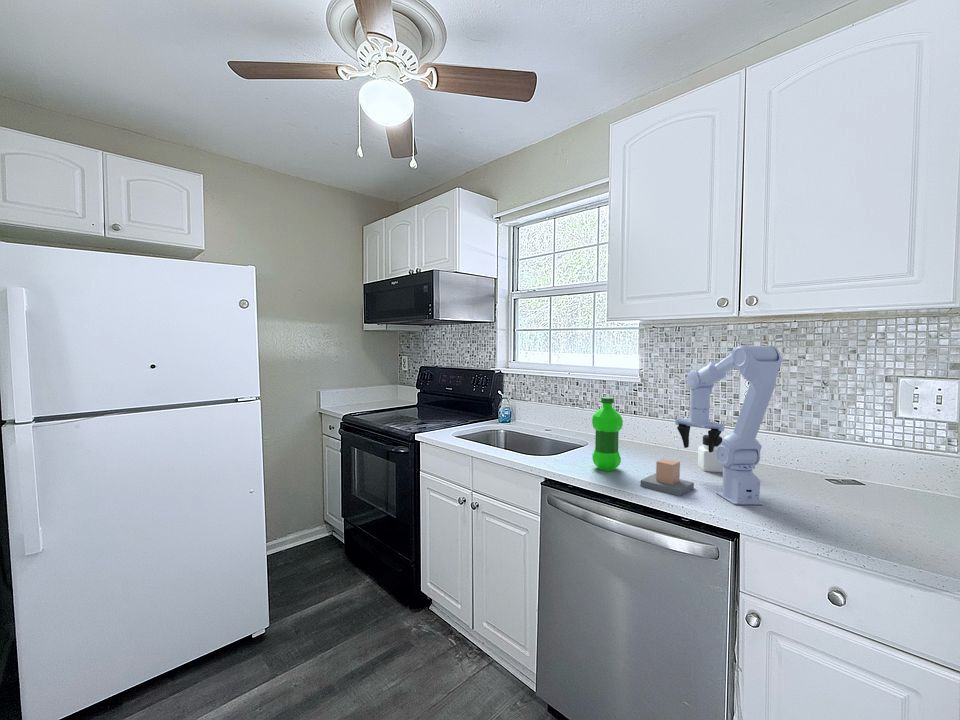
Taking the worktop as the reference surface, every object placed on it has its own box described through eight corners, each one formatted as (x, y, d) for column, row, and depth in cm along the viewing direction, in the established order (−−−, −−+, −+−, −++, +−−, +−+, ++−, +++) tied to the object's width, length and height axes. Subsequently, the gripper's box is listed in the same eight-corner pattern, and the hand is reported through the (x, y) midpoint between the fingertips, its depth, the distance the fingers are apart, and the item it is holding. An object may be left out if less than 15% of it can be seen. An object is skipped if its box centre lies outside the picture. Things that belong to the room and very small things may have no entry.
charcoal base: (693, 488, 132) (693, 482, 131) (680, 496, 125) (680, 490, 125) (655, 478, 140) (655, 473, 140) (640, 485, 133) (640, 480, 133)
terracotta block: (679, 481, 133) (679, 461, 132) (672, 484, 129) (672, 464, 129) (663, 477, 136) (663, 458, 136) (656, 480, 133) (656, 461, 133)
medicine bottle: (726, 472, 147) (727, 438, 147) (703, 471, 149) (704, 437, 148) (719, 467, 154) (720, 433, 154) (697, 465, 156) (698, 432, 155)
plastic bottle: (585, 468, 152) (586, 397, 151) (602, 462, 159) (603, 395, 158) (610, 475, 144) (611, 400, 143) (627, 469, 151) (628, 397, 150)
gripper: (728, 409, 138) (726, 451, 139) (681, 404, 149) (680, 443, 149) (720, 411, 133) (719, 455, 134) (673, 406, 144) (672, 447, 144)
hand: (698, 449), depth 141 cm, fingers open, 7 cm apart
